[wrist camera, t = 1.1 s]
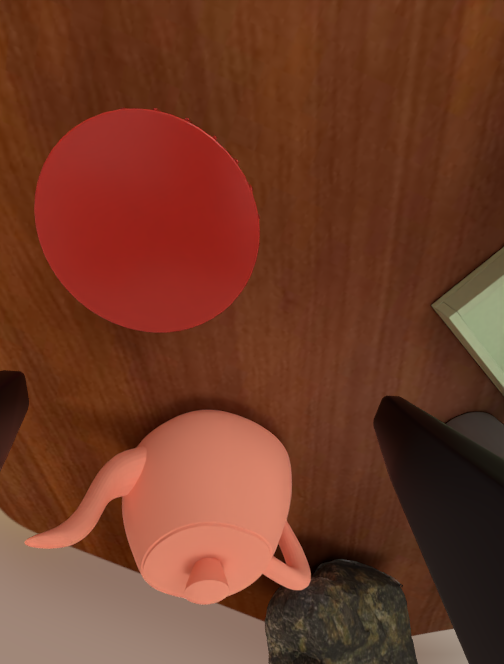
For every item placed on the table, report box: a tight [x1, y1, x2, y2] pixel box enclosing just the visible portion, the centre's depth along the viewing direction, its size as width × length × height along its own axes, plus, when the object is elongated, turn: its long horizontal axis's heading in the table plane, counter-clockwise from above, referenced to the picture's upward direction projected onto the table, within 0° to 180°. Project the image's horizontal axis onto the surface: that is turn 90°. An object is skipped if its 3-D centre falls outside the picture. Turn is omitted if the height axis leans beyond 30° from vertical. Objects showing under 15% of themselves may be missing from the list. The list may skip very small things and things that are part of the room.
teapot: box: [25, 409, 311, 605], centre depth 23 cm, size 12×18×10 cm
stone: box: [265, 559, 418, 664], centre depth 30 cm, size 15×10×15 cm
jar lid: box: [34, 108, 260, 333], centre depth 11 cm, size 7×7×2 cm
